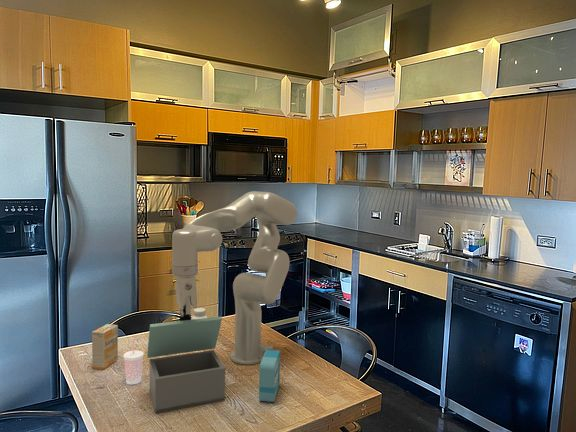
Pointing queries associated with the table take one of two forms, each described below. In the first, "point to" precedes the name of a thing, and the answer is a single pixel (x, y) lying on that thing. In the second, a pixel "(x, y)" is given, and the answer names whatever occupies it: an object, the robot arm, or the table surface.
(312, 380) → the table surface
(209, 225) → the robot arm
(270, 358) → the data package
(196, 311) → the supplement bottle
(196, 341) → the lid
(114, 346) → the supplement box
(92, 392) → the table surface
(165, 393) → the storage box
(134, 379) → the beverage cup
